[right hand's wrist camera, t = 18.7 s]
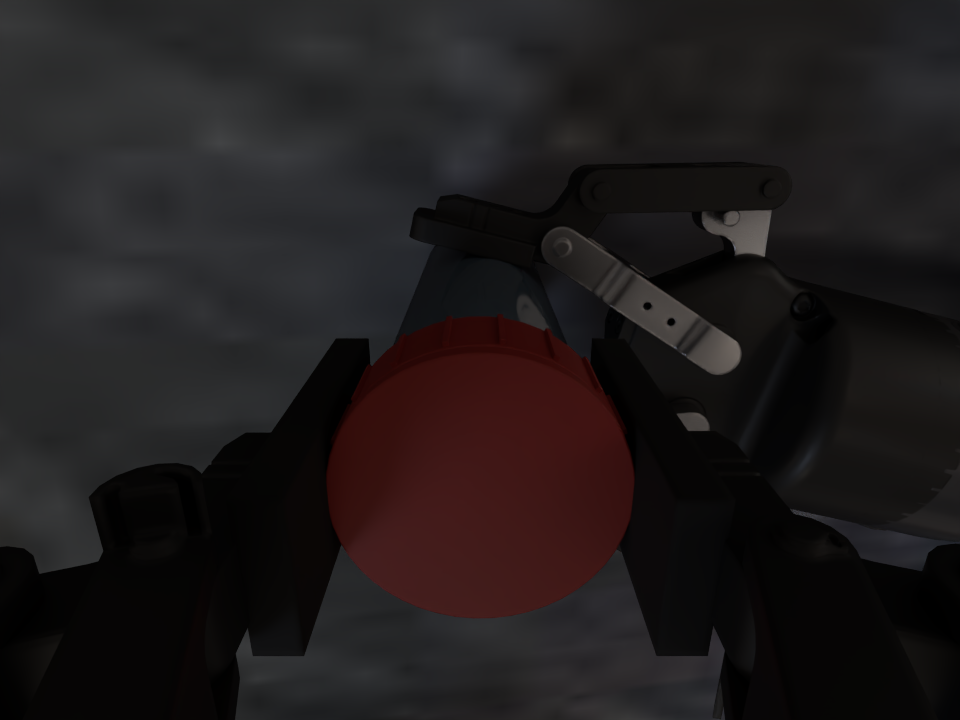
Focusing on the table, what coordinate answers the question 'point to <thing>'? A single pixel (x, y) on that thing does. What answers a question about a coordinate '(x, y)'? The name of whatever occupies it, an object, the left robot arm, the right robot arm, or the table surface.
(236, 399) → the table surface
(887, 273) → the table surface
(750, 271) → the left robot arm
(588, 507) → the lid
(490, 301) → the jar
